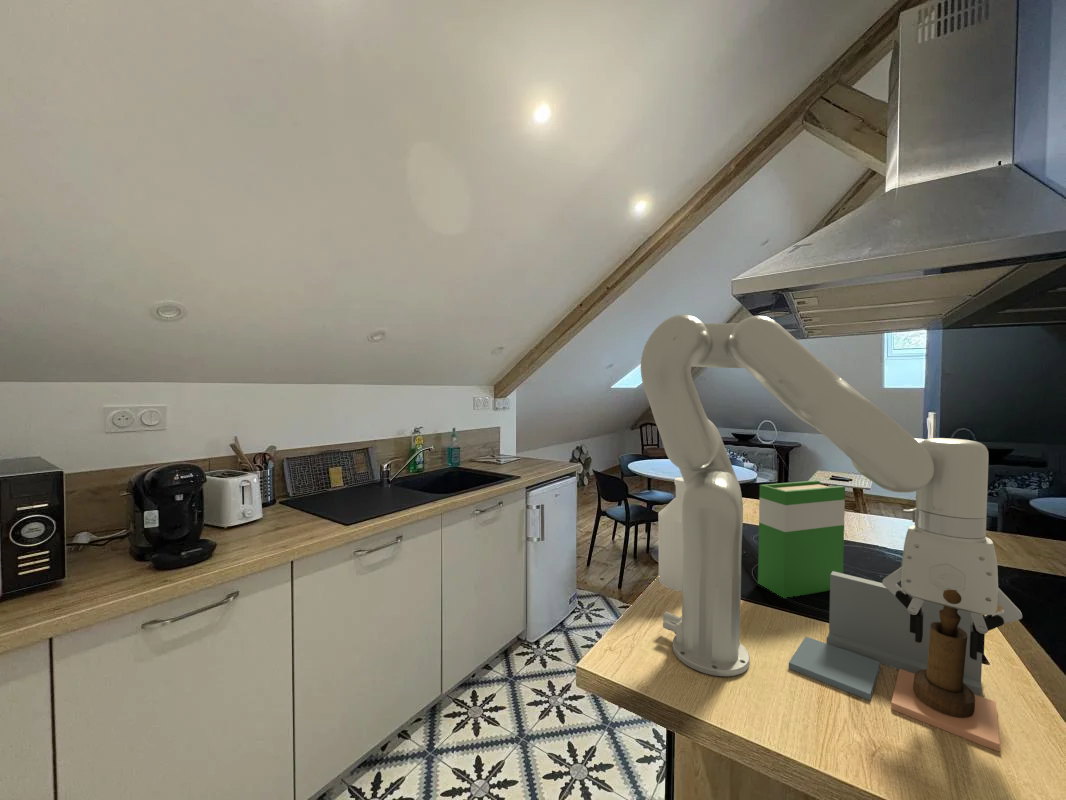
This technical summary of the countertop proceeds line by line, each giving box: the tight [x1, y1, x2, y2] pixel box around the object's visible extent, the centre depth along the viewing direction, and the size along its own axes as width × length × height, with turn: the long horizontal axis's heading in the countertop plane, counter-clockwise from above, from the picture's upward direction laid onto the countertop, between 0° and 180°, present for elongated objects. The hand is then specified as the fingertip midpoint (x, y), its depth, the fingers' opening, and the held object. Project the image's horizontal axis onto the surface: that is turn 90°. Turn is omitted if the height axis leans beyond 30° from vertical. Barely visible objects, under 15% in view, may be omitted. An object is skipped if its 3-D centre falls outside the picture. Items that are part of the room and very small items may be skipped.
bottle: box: [657, 476, 687, 593], centre depth 108 cm, size 12×12×25 cm
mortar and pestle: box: [913, 588, 975, 718], centre depth 64 cm, size 7×6×18 cm
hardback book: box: [757, 479, 846, 599], centre depth 106 cm, size 18×7×24 cm, turn 107°
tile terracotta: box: [890, 669, 1001, 752], centre depth 66 cm, size 11×11×1 cm
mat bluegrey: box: [788, 636, 881, 701], centre depth 75 cm, size 11×11×1 cm
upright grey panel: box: [826, 571, 983, 697], centre depth 77 cm, size 20×6×12 cm, turn 46°
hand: (945, 645), depth 65 cm, fingers open, 5 cm apart
